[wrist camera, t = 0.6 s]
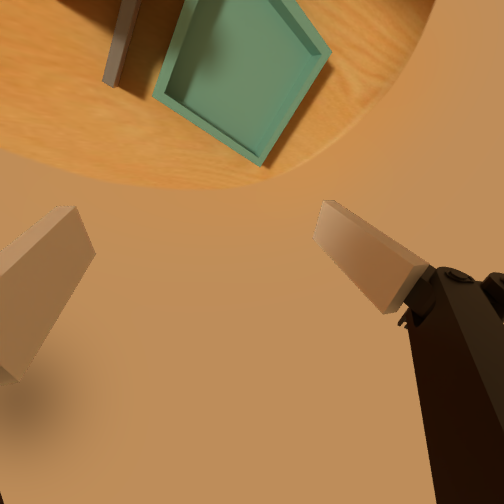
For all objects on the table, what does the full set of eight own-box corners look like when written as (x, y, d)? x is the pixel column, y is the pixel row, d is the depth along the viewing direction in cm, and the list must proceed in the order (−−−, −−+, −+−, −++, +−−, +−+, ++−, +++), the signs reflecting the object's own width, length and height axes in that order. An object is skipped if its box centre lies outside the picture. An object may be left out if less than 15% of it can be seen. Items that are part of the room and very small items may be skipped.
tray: (214, -83, 20) (220, -104, 17) (318, 53, 29) (332, 51, 26) (153, 94, 26) (151, 96, 24) (253, 160, 35) (260, 167, 33)
